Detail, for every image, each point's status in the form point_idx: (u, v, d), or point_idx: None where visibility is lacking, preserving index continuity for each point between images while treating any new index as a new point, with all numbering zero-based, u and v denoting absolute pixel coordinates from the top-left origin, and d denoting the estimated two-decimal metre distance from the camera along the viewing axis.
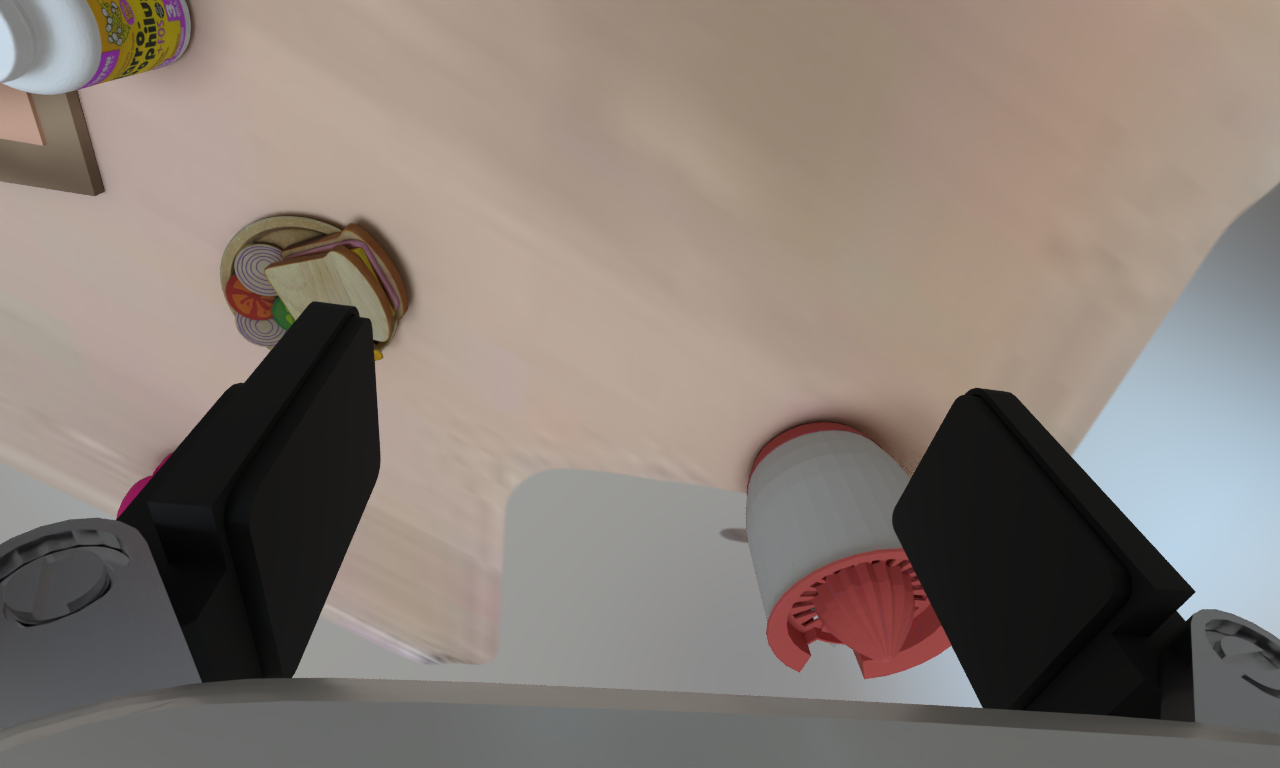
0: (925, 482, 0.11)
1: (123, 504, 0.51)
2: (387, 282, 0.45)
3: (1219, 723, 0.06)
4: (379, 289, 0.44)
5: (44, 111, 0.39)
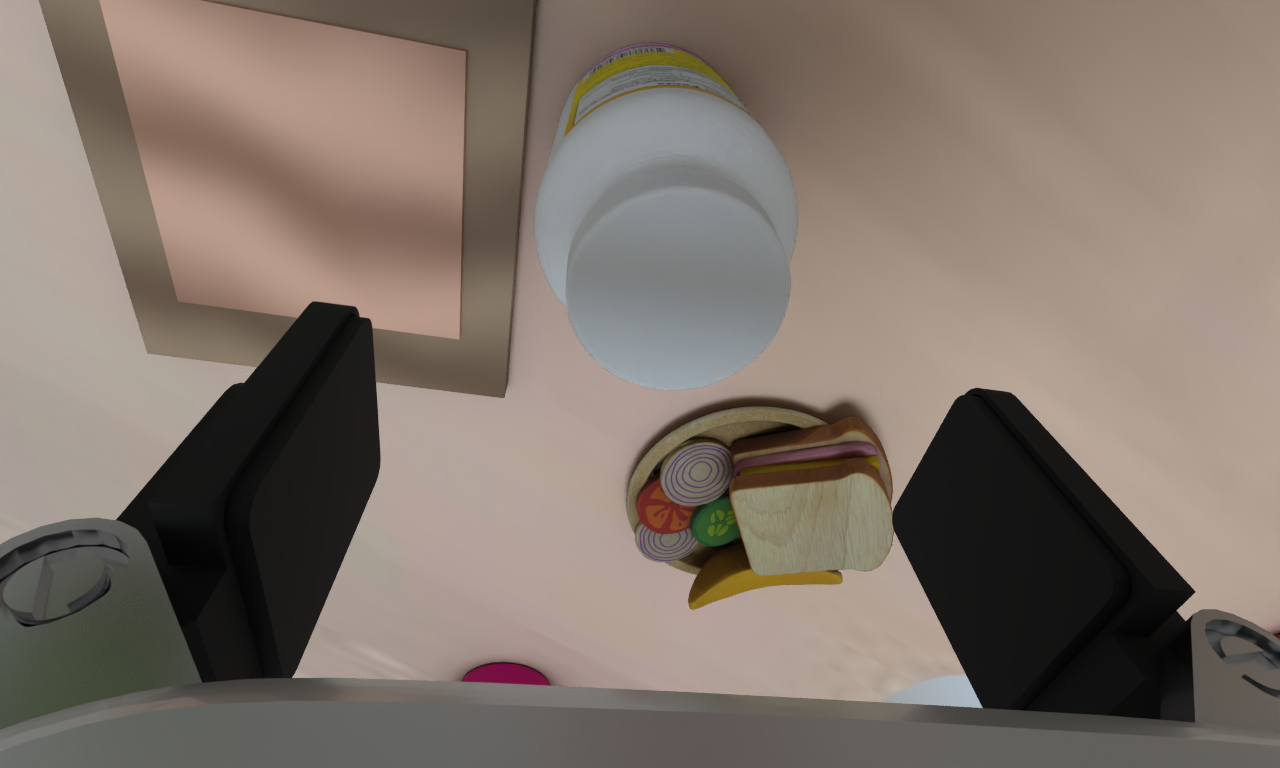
0: (925, 482, 0.11)
1: None
2: None
3: (1219, 723, 0.06)
4: None
5: (473, 294, 0.26)
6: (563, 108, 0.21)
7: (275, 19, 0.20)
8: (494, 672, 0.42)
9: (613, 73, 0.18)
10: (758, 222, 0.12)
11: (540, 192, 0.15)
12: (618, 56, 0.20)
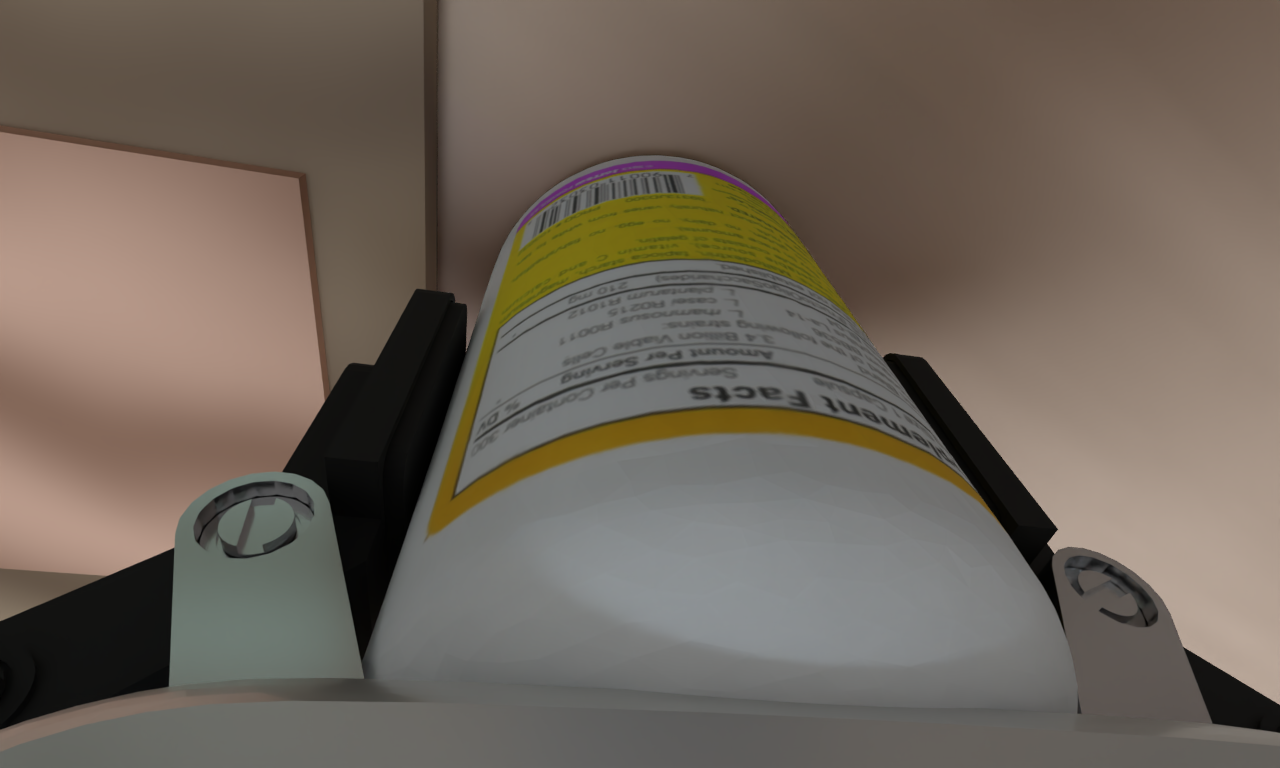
0: None
1: None
2: None
3: (1092, 666, 0.06)
4: None
5: None
6: (491, 275, 0.11)
7: None
8: None
9: (575, 270, 0.08)
10: None
11: None
12: (590, 195, 0.10)
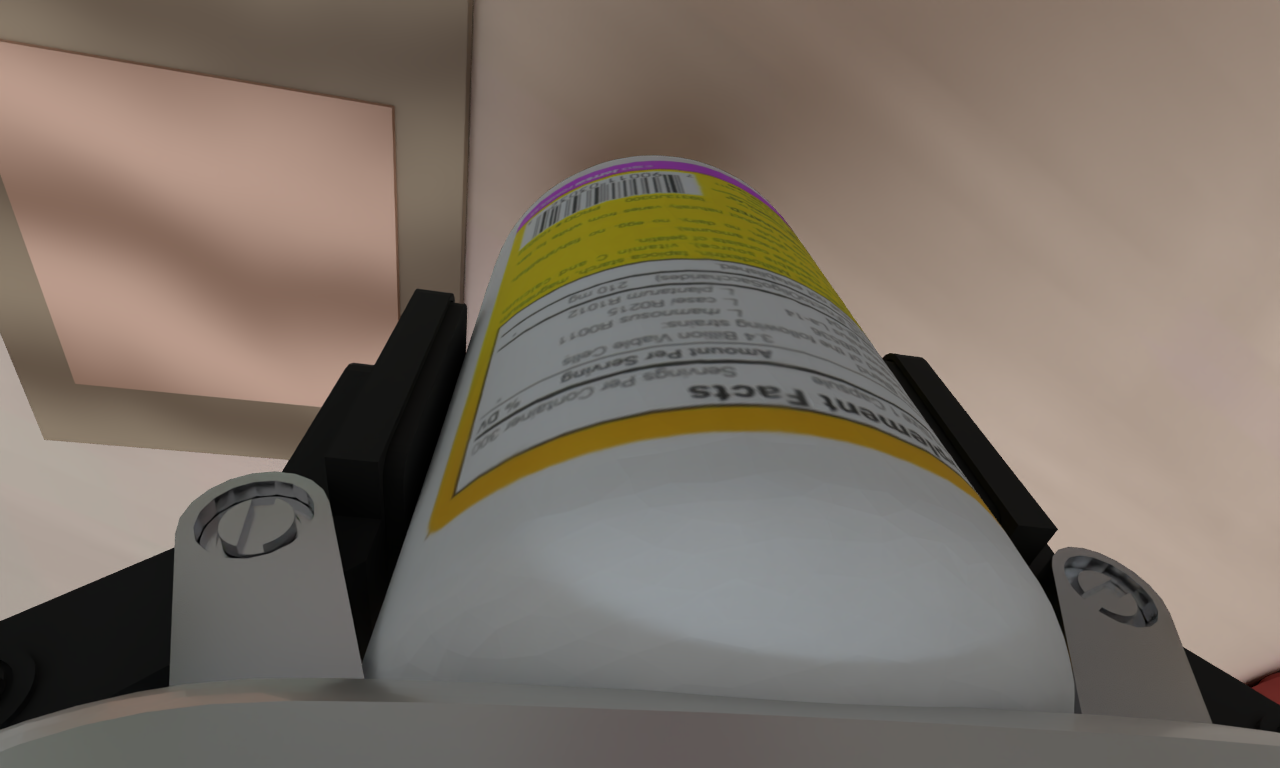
0: None
1: None
2: None
3: (1091, 666, 0.06)
4: None
5: None
6: (491, 275, 0.12)
7: (169, 75, 0.17)
8: None
9: (575, 270, 0.08)
10: None
11: None
12: (590, 196, 0.10)
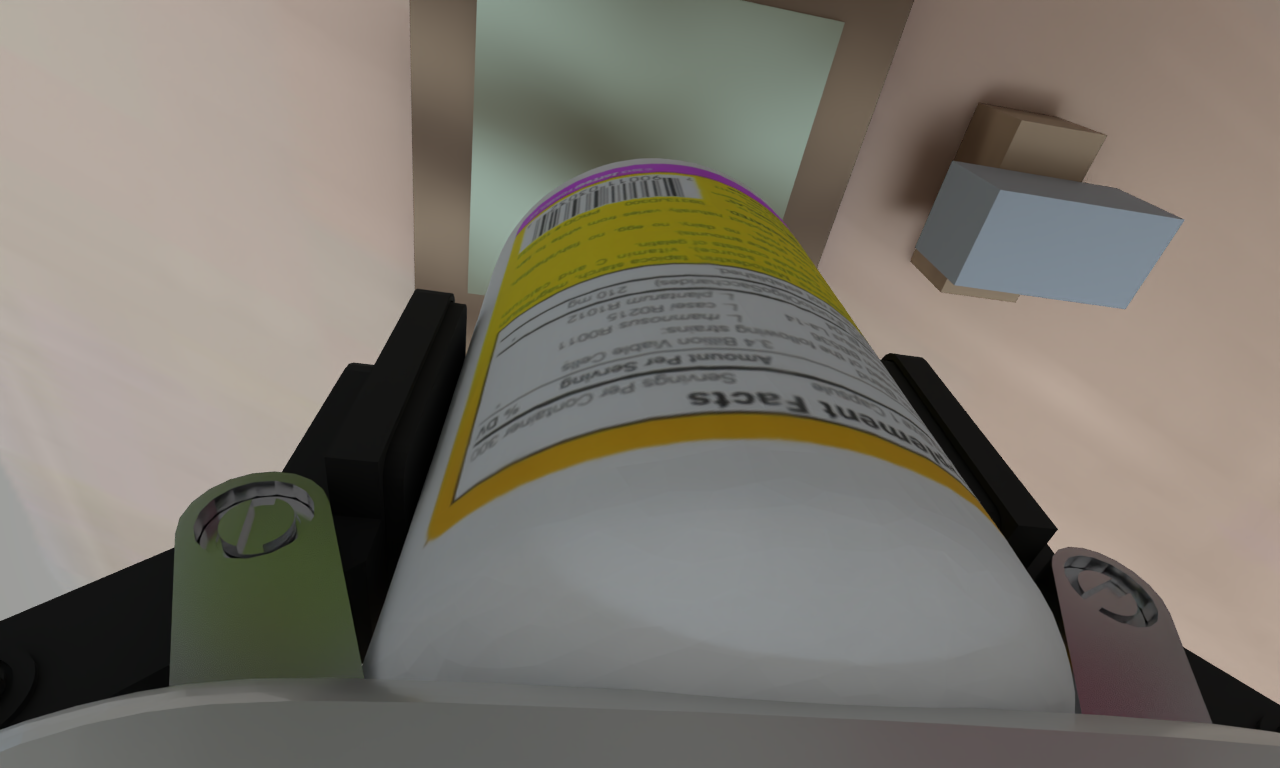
0: None
1: None
2: None
3: (1092, 666, 0.06)
4: None
5: None
6: (491, 278, 0.12)
7: None
8: None
9: (574, 274, 0.08)
10: None
11: None
12: (590, 199, 0.10)
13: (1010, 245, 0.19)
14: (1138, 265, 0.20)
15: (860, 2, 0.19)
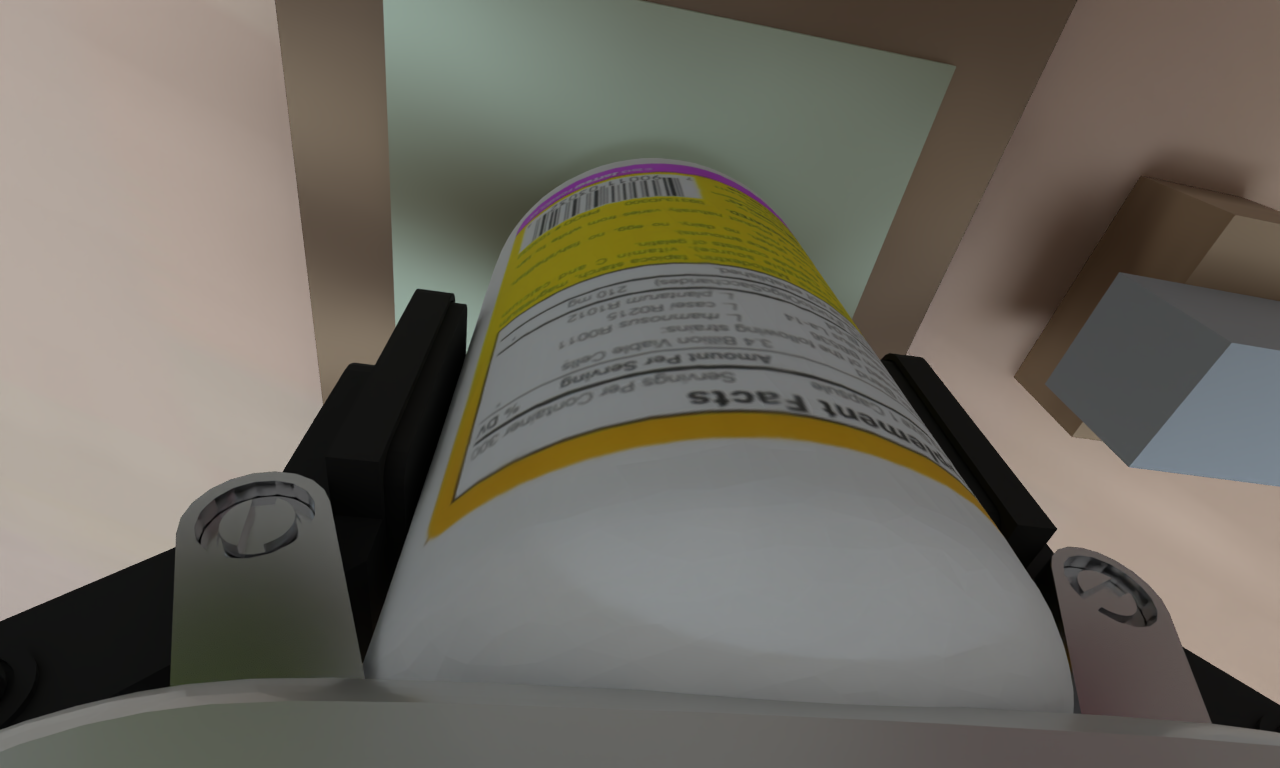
0: None
1: None
2: None
3: (1091, 666, 0.06)
4: None
5: None
6: (491, 277, 0.12)
7: None
8: None
9: (574, 274, 0.08)
10: None
11: None
12: (590, 198, 0.10)
13: (1226, 417, 0.12)
14: None
15: (980, 35, 0.13)
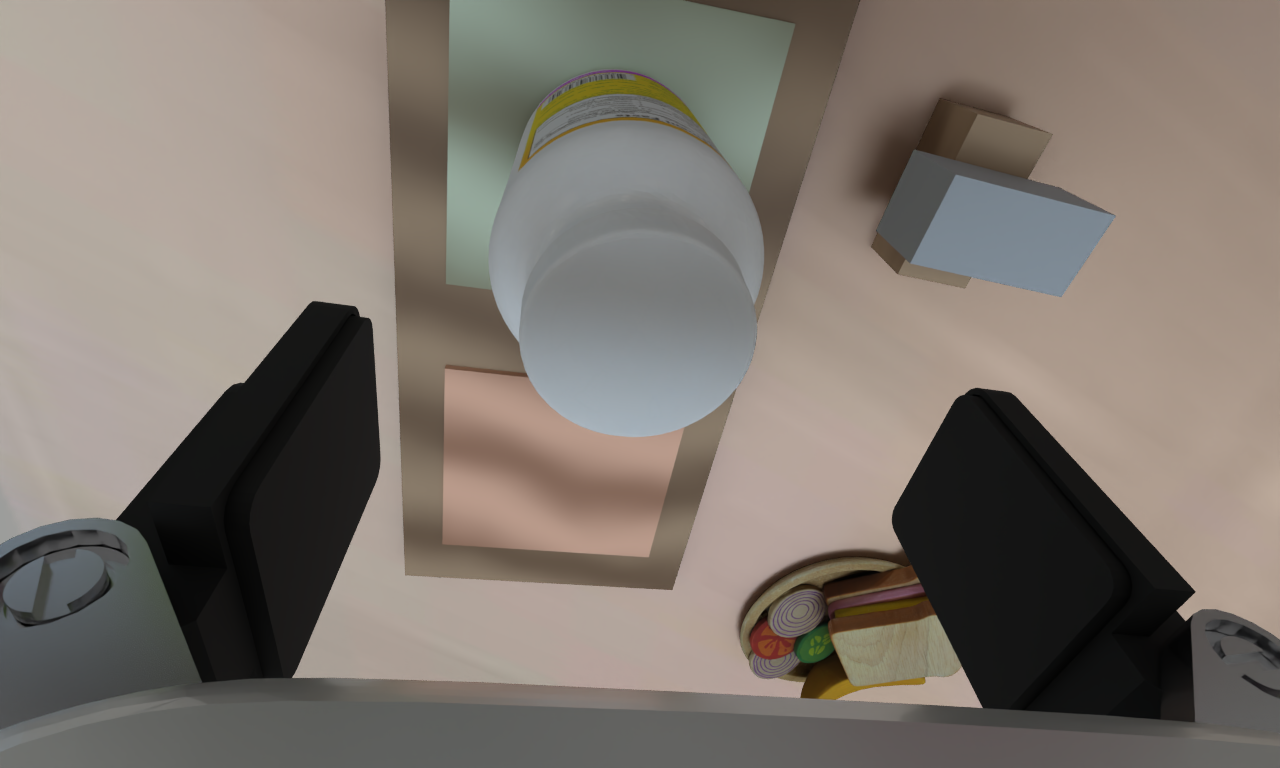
0: (925, 482, 0.11)
1: None
2: None
3: (1219, 723, 0.06)
4: None
5: (664, 527, 0.34)
6: (522, 135, 0.21)
7: None
8: None
9: (571, 102, 0.17)
10: (721, 265, 0.12)
11: (493, 229, 0.14)
12: (578, 83, 0.19)
13: (962, 228, 0.21)
14: (1074, 256, 0.21)
15: (809, 5, 0.21)
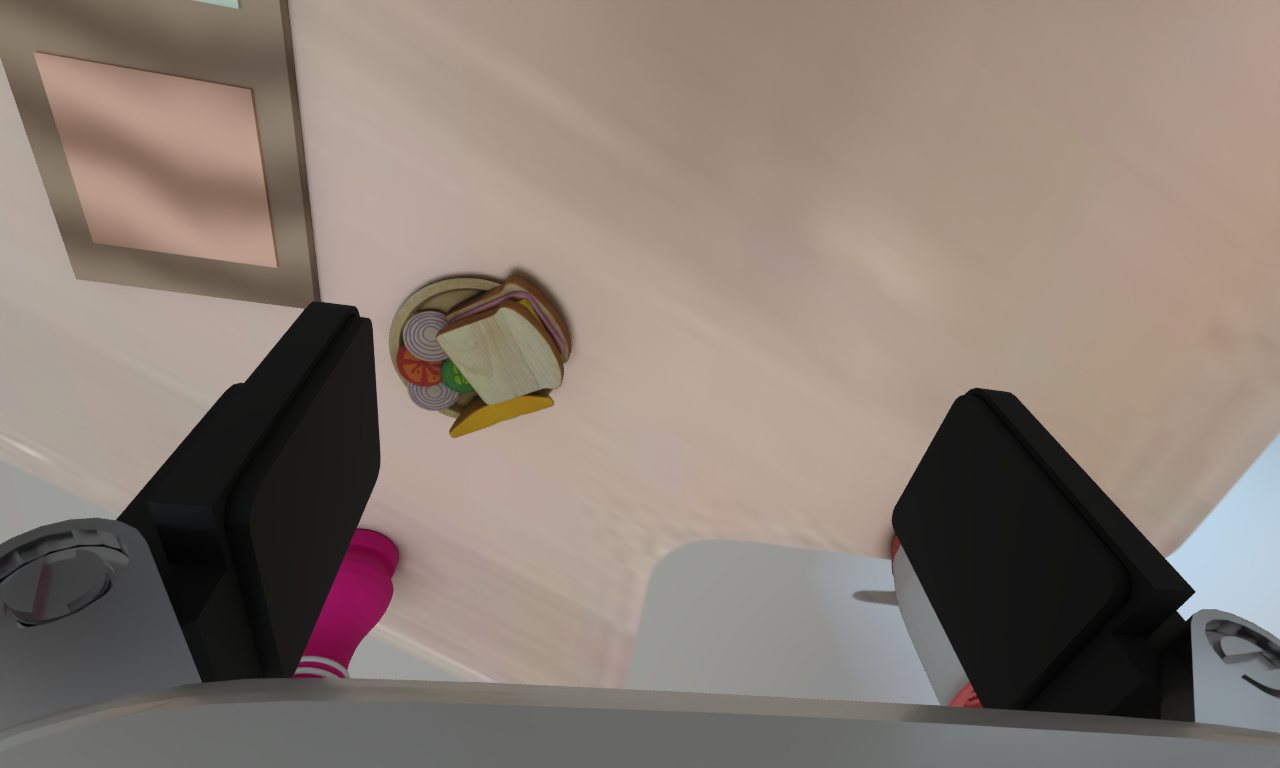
0: (925, 482, 0.11)
1: None
2: (552, 328, 0.44)
3: (1219, 723, 0.06)
4: (548, 337, 0.43)
5: (282, 237, 0.41)
6: None
7: (138, 72, 0.35)
8: None
9: None
10: None
11: None
12: None
13: None
14: None
15: None
